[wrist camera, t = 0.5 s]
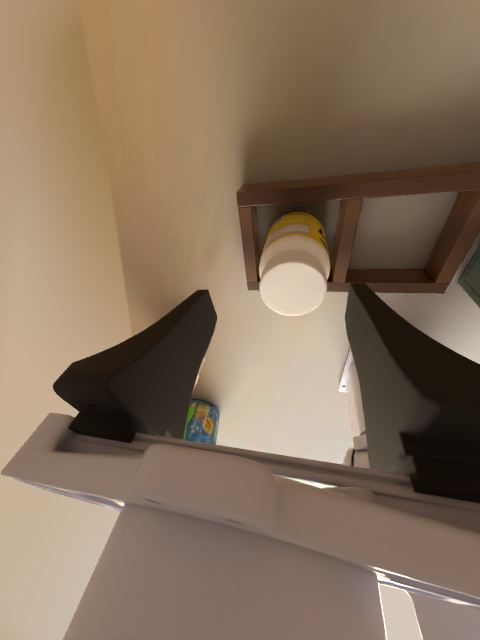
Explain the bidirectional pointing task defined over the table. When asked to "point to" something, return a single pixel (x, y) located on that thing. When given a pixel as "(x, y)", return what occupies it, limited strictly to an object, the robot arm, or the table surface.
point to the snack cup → (202, 423)
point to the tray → (472, 278)
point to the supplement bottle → (294, 263)
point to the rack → (454, 242)
